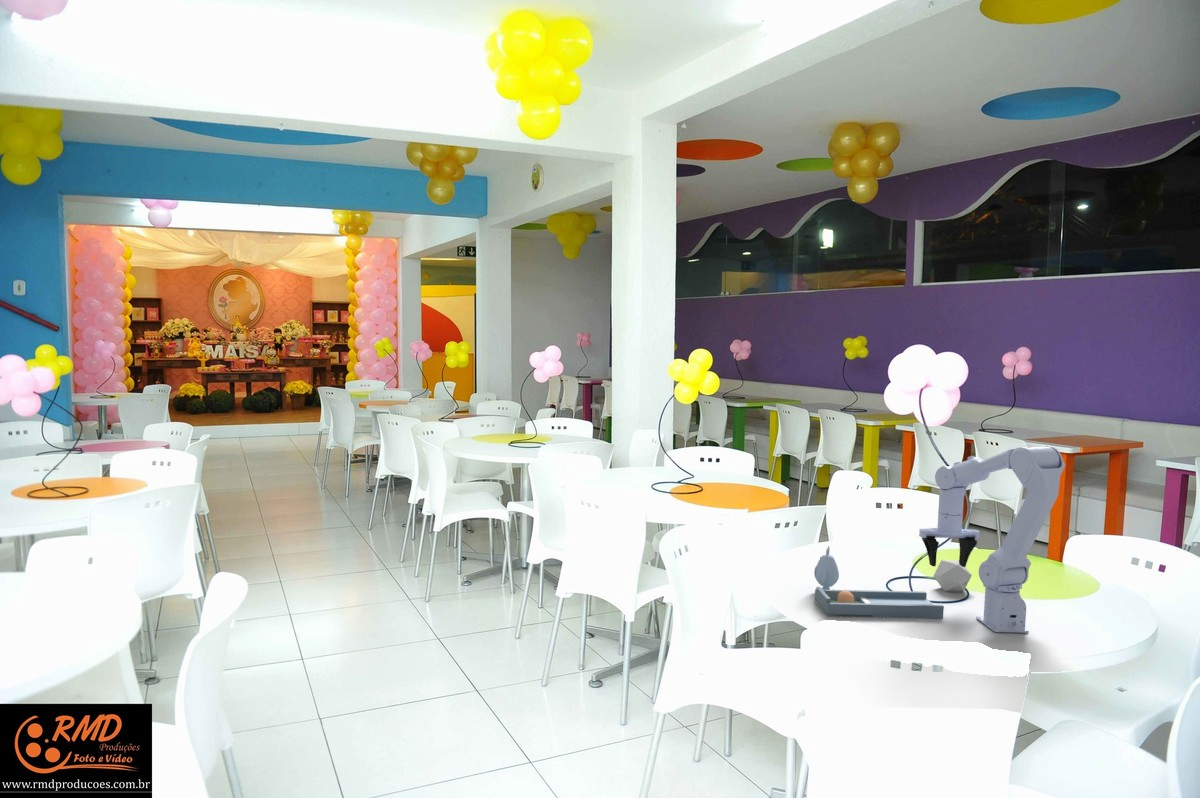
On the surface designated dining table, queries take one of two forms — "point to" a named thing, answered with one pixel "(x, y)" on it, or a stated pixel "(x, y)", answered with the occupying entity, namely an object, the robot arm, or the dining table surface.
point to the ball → (845, 597)
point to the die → (952, 575)
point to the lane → (878, 604)
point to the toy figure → (826, 571)
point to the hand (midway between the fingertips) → (947, 565)
